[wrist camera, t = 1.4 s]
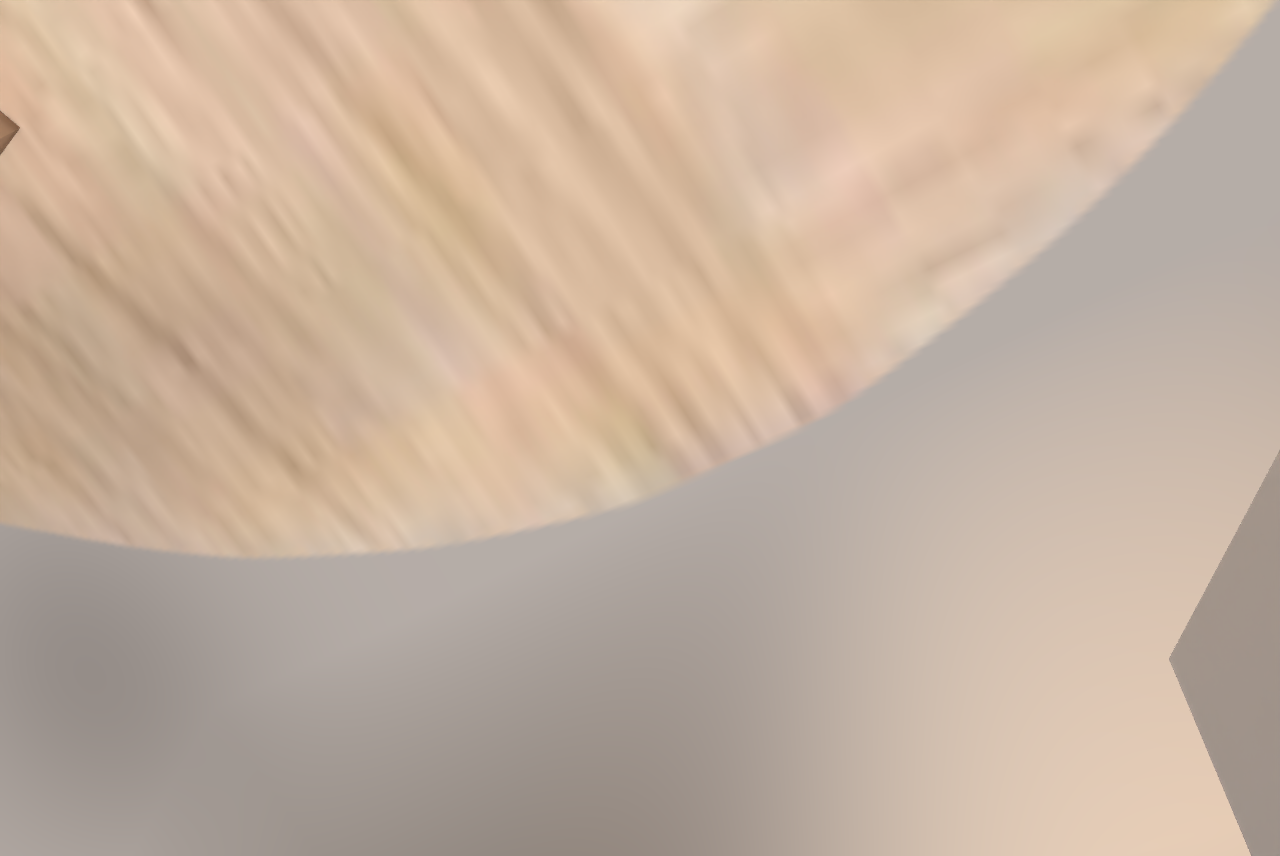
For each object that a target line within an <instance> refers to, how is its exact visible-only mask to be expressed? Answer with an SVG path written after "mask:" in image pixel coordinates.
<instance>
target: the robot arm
mask: <svg viewBox="0 0 1280 856" xmlns="http://www.w3.org/2000/svg"><path fill="white" fill-rule="evenodd" d="M1169 660H1170V662H1171V665H1172V667H1173V670H1174V672H1175V674H1176V677H1177V679H1178V681H1179V684H1180V686H1181V689H1182V691H1183V693H1184V696H1185V698H1186V700H1187V703H1188V705H1189V708H1190V710H1191V712H1192V715H1193V717H1194V720H1195V722H1196V725H1197V727H1198V729H1199V731H1200V734H1201V736H1202V739H1203V741H1204V743H1205V746H1206V748H1207V751H1208V753H1209V756H1210V758H1211V760H1212V763H1213V765H1214V767H1215V770H1216V772H1217V775H1218V777H1219V779H1220V782H1221V784H1222V786H1223V789H1224V791H1225V794H1226V796H1227V799H1228V801H1229V803H1230V806H1231V808H1232V810H1233V813H1234V815H1235V818H1236V820H1237V823H1238V825H1239V827H1240V830H1241V832H1242V834H1243V837H1244V839H1245V842H1246V844H1247V846H1248V849H1249V851H1250V853H1251V856H1280V451H1279V453H1278V455H1277V457H1276V458H1275V460H1274V462H1273V464H1272V466H1271V468H1270V470H1269V472H1268V474H1267V475H1266V477H1265V479H1264V481H1263V483H1262V485H1261V487H1260V488H1259V490H1258V492H1257V494H1256V496H1255V498H1254V500H1253V502H1252V504H1251V506H1250V508H1249V509H1248V511H1247V513H1246V515H1245V517H1244V519H1243V521H1242V522H1241V524H1240V526H1239V528H1238V530H1237V532H1236V534H1235V536H1234V538H1233V539H1232V541H1231V543H1230V545H1229V547H1228V549H1227V551H1226V552H1225V555H1224V556H1223V558H1222V560H1221V562H1220V564H1219V566H1218V568H1217V569H1216V571H1215V573H1214V575H1213V577H1212V579H1211V581H1210V583H1209V584H1208V586H1207V588H1206V590H1205V592H1204V594H1203V596H1202V598H1201V600H1200V601H1199V603H1198V605H1197V607H1196V609H1195V611H1194V613H1193V615H1192V616H1191V619H1190V620H1189V622H1188V624H1187V626H1186V628H1185V630H1184V631H1183V633H1182V635H1181V637H1180V639H1179V641H1178V643H1177V645H1176V647H1175V648H1174V650H1173V652H1172V654H1171V656H1170V658H1169Z"/></svg>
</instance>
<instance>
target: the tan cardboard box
mask: <svg viewBox="0 0 1280 856" xmlns="http://www.w3.org/2000/svg"><path fill="white" fill-rule="evenodd" d="M19 129H20V127H19V126H17V125H16V124H15V123H14V122H13V121H11V120H10V119H9V118H8V117H7V116H5V115H4V114H3V113H2V112H1V111H0V155H1V153H2V152H3V150H4V149H5V148H6V146H7V145H8V144H9V142H10V141H11V140H12V138H13V137H14V135H15V134H16V133H17V131H18V130H19Z"/></svg>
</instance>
